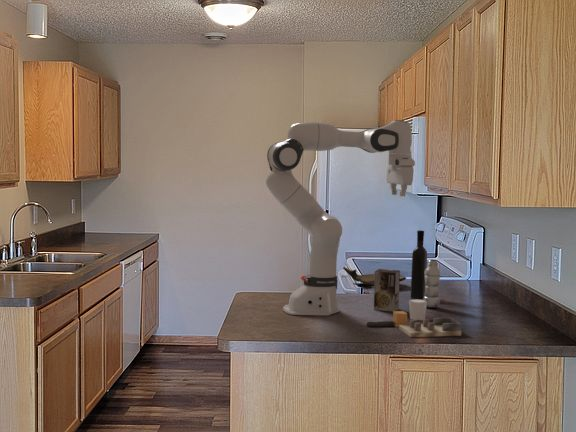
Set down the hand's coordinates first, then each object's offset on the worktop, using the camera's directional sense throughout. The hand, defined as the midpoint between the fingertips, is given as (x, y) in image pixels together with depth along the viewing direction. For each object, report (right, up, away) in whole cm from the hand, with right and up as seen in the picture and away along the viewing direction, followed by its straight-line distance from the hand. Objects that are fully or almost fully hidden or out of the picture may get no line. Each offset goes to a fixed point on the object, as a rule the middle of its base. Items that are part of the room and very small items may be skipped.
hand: (398, 195), depth 273 cm
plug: (-8, -49, -24) cm, 55 cm away
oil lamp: (-2, -42, +55) cm, 69 cm away
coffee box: (-4, -47, +4) cm, 47 cm away
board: (+6, -50, -31) cm, 59 cm away
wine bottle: (+13, -45, +27) cm, 54 cm away
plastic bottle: (+15, -47, +8) cm, 50 cm away
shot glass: (+6, -48, -11) cm, 50 cm away
